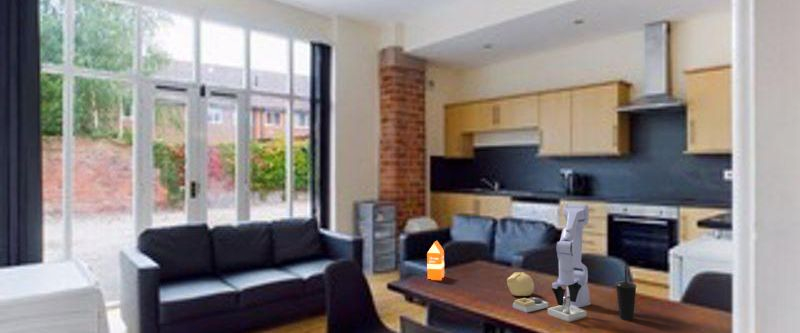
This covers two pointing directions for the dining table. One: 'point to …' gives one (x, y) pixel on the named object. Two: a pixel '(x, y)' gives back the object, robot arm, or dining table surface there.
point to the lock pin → (566, 305)
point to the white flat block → (529, 304)
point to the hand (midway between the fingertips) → (566, 303)
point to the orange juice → (435, 262)
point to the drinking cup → (626, 298)
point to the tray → (574, 314)
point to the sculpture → (520, 284)
